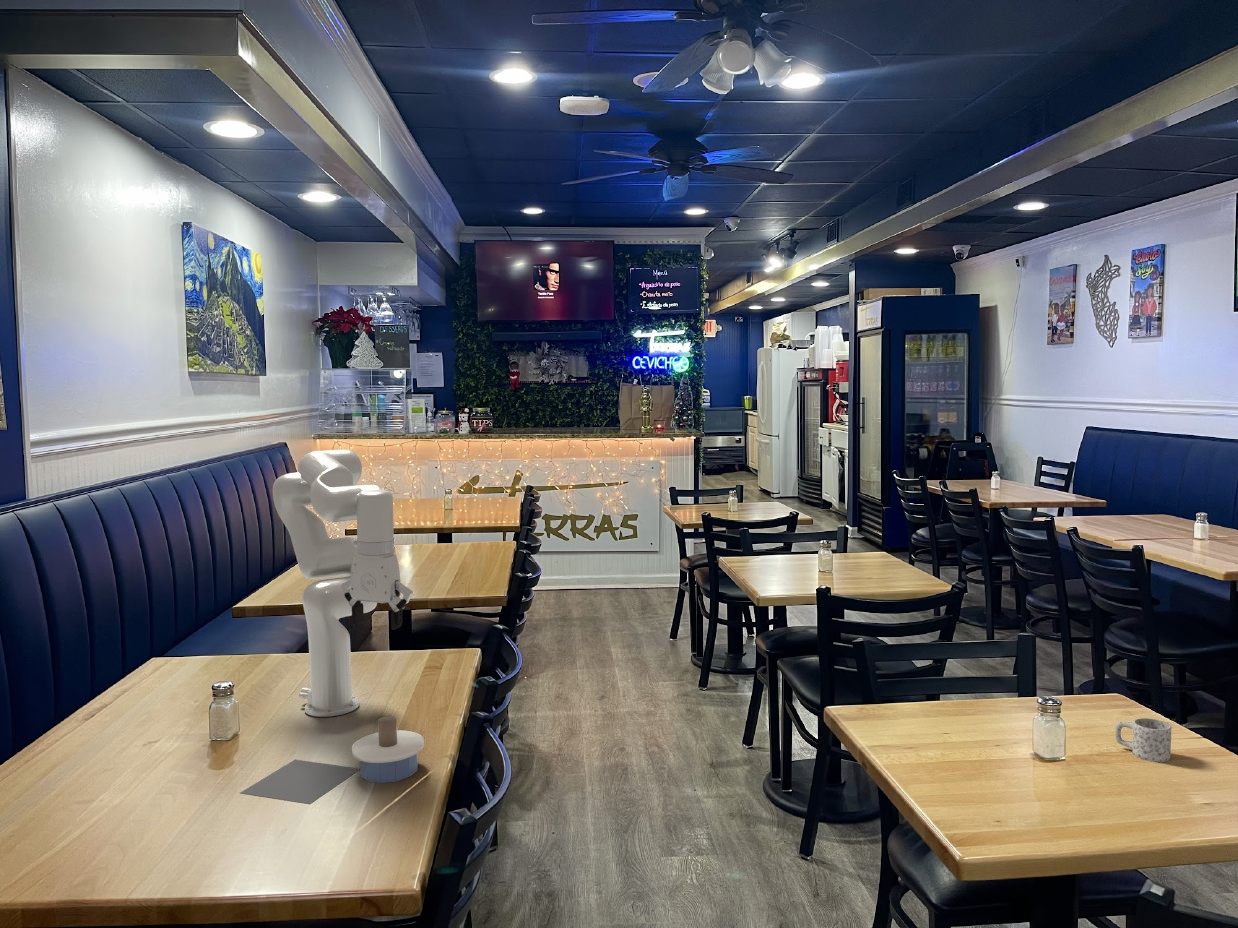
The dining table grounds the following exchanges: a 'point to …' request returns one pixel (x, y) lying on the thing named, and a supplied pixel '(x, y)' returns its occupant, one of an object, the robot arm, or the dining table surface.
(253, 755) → the dining table surface
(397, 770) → the bowl
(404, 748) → the lid
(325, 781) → the mat
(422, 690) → the dining table surface
